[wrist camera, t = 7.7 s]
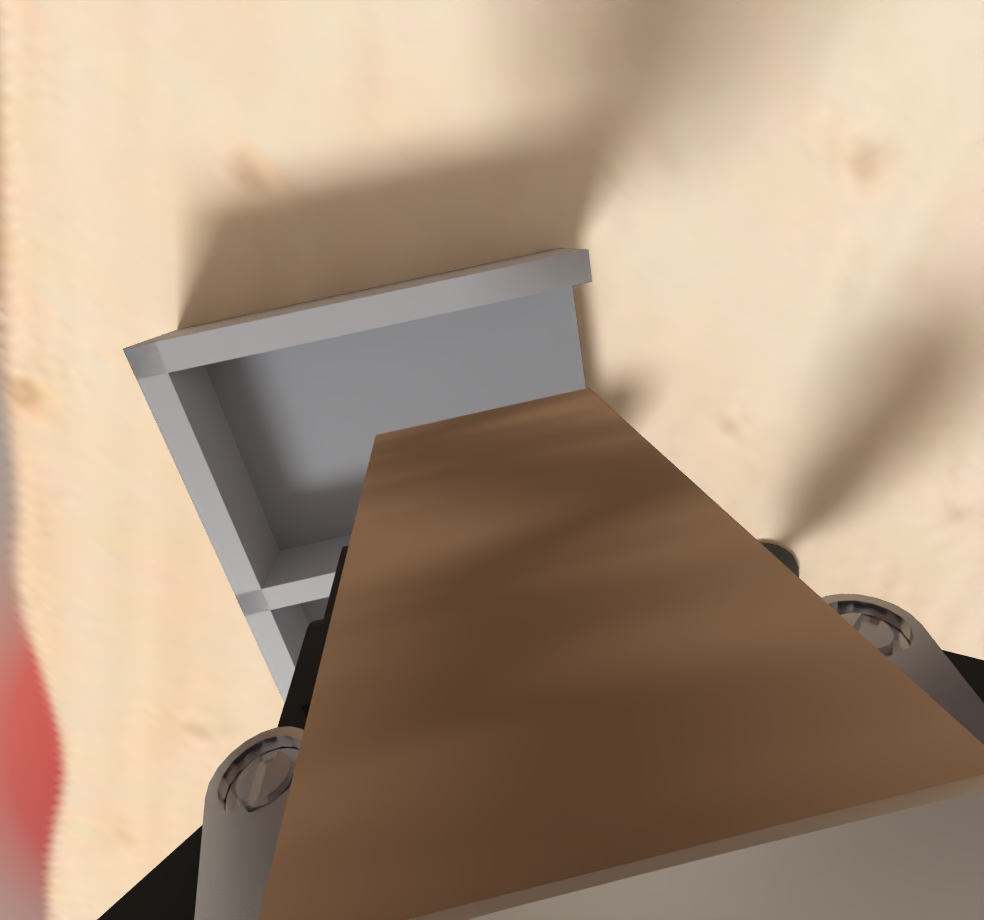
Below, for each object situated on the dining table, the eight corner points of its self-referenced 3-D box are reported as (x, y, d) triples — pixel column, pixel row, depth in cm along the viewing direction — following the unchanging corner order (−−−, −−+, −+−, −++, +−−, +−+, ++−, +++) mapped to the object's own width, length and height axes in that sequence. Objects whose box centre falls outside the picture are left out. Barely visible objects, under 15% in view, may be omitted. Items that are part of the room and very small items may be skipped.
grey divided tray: (560, 248, 21) (588, 249, 18) (614, 647, 29) (642, 706, 25) (176, 329, 21) (123, 349, 17) (334, 713, 28) (320, 783, 25)
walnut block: (588, 387, 13) (1254, 989, 3) (611, 567, 15) (1038, 1314, 4) (375, 435, 12) (169, 1284, 2) (427, 610, 14) (436, 1488, 4)
